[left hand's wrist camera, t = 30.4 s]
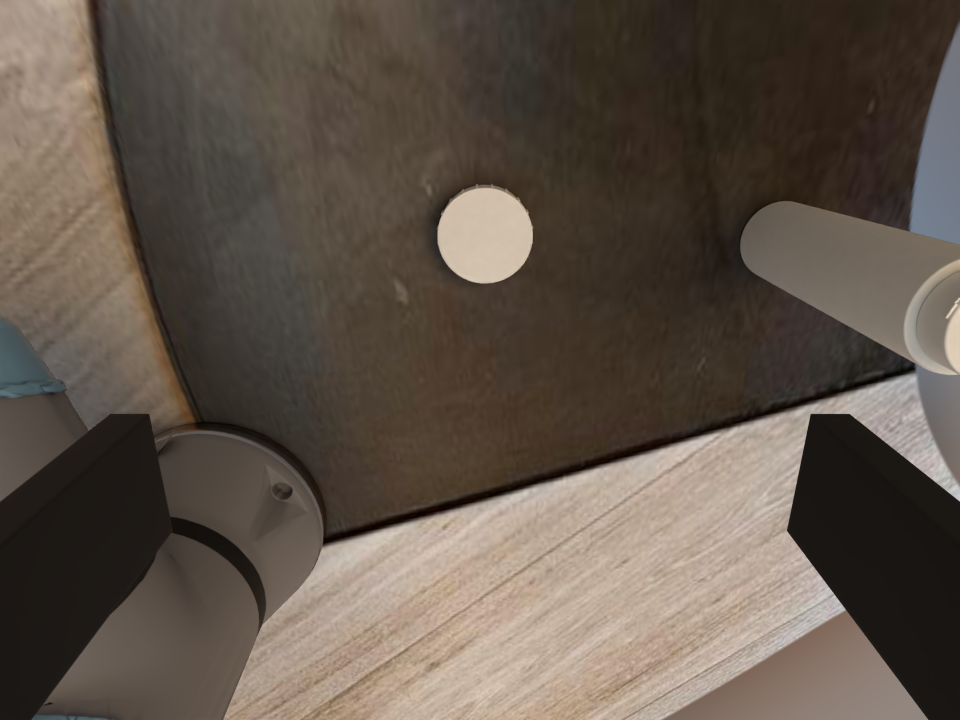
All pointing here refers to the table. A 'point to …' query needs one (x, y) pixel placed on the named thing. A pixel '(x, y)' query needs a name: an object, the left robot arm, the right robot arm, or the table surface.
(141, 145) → the table surface
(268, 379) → the table surface
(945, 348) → the jar
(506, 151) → the table surface
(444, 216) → the lid
